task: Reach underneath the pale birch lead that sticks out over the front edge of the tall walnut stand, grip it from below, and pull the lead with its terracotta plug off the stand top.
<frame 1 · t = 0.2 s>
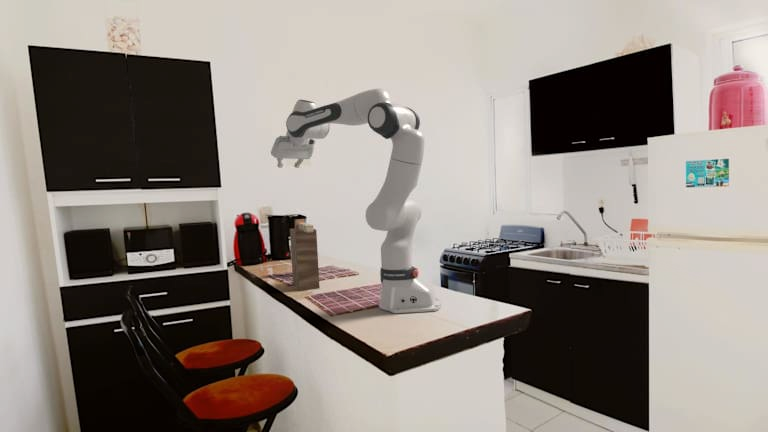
hand: (288, 167, 180), 54 cm above the table, tool tilted 30°, fingers open, 8 cm apart
stand: (305, 285, 189), on the table
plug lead: (304, 229, 183), point 26 cm above the table, touching stand
beer glass: (298, 275, 214), on the table
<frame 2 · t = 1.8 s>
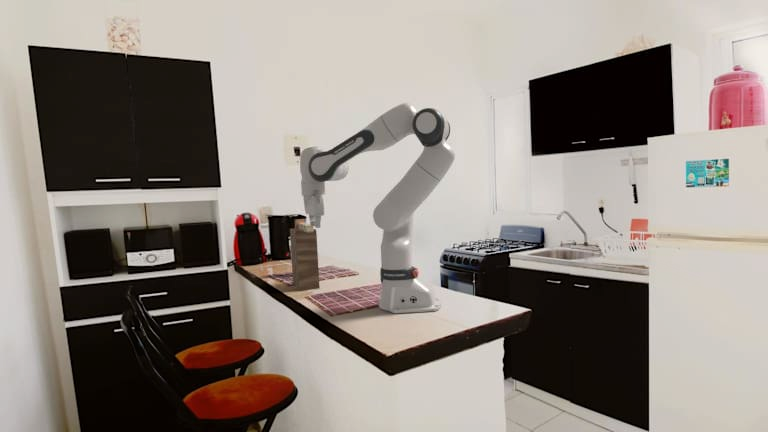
hand: (315, 226, 158), 29 cm above the table, tool pointing down, fingers open, 8 cm apart
nothing on the table moved.
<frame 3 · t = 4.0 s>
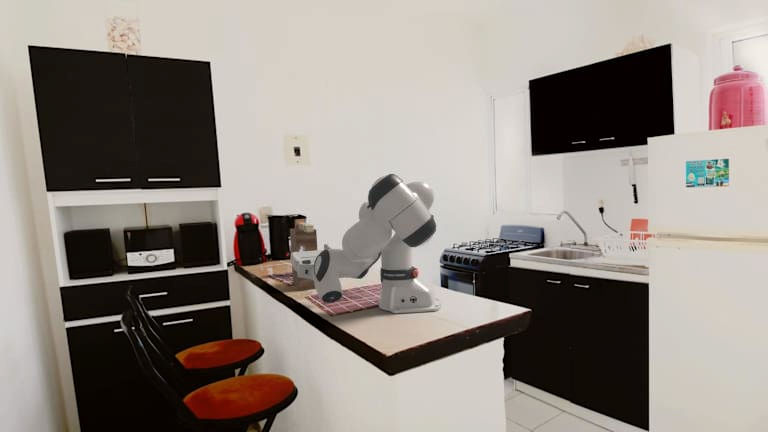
hand: (314, 246, 163), 21 cm above the table, tool pointing upward, fingers open, 8 cm apart
nothing on the table moved.
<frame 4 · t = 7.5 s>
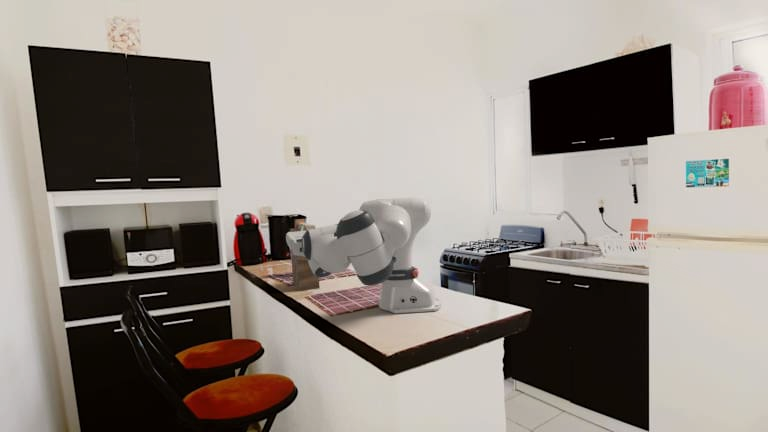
hand: (308, 227, 175), 28 cm above the table, tool pointing upward, fingers closed on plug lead, 3 cm apart
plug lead: (304, 229, 183), point 26 cm above the table, touching gripper, stand
everything else where it was.
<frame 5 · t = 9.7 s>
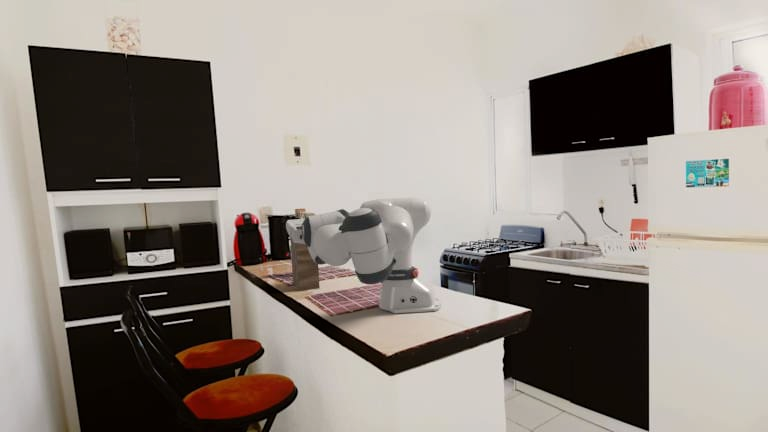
hand: (308, 215, 174), 33 cm above the table, tool pointing upward, fingers closed on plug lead, 3 cm apart
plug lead: (304, 218, 182), point 31 cm above the table, touching gripper
everything else where it was.
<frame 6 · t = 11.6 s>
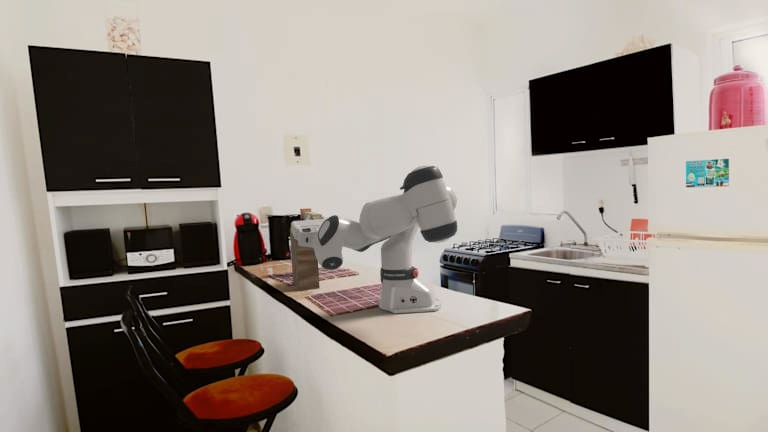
hand: (314, 216, 162), 33 cm above the table, tool pointing upward, fingers closed on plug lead, 3 cm apart
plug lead: (310, 219, 171), point 31 cm above the table, touching gripper
everything else where it was.
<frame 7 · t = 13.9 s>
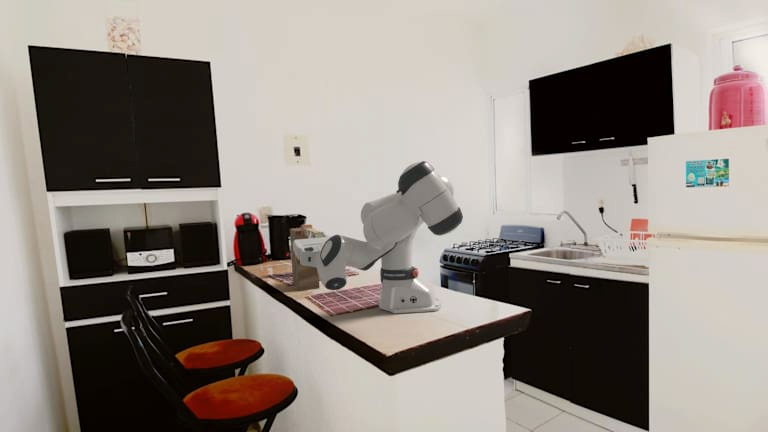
hand: (316, 233, 160), 26 cm above the table, tool pointing upward, fingers closed on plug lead, 3 cm apart
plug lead: (311, 236, 168), point 25 cm above the table, touching gripper
everything else where it was.
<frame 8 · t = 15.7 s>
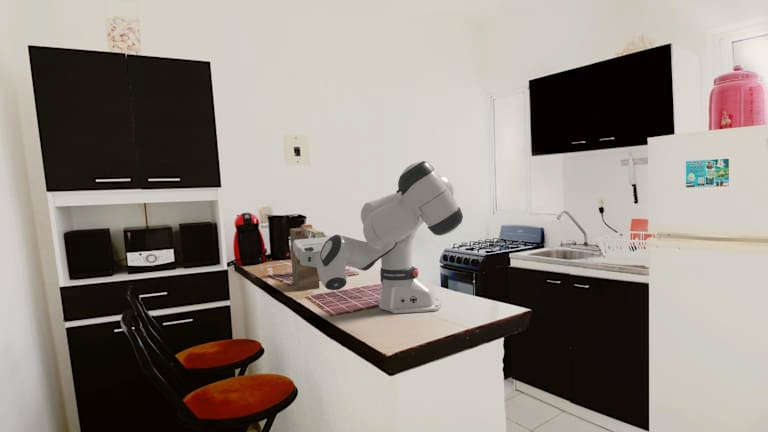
hand: (316, 233, 160), 26 cm above the table, tool pointing upward, fingers closed on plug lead, 3 cm apart
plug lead: (311, 236, 168), point 25 cm above the table, touching gripper
everything else where it was.
at the end: the gripper is holding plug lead; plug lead touching gripper; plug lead moved 16.1 cm from its start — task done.
